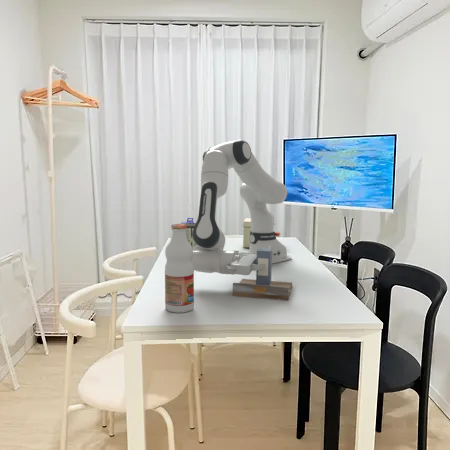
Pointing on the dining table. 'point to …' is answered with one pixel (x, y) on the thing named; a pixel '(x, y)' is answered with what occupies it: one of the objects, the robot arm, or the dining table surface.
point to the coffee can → (190, 234)
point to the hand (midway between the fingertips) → (266, 265)
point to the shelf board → (262, 289)
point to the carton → (265, 258)
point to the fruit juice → (179, 272)
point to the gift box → (246, 232)
